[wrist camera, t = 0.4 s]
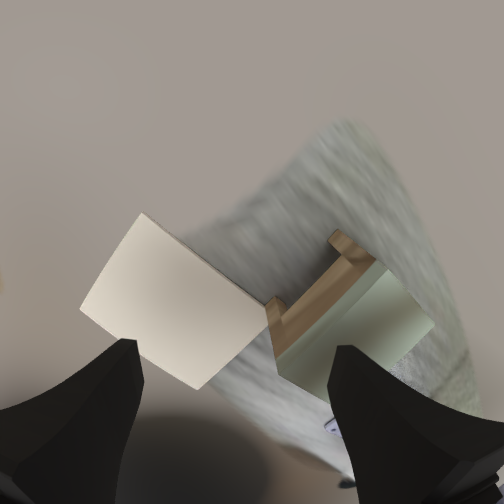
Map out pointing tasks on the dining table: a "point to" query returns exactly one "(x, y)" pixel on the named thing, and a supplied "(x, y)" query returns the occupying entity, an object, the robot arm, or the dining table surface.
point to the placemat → (173, 305)
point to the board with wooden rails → (344, 319)
